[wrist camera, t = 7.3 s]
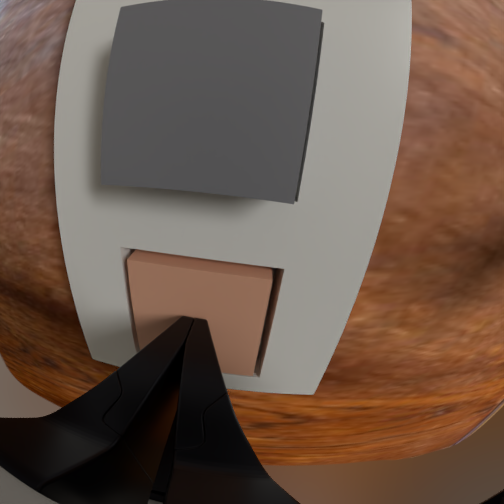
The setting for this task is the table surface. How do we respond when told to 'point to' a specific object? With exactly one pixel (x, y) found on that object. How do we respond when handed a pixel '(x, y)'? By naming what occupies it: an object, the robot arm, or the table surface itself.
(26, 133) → the table surface
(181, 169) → the charcoal key
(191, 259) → the terracotta key
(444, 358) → the table surface
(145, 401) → the robot arm
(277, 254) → the keypad frame
